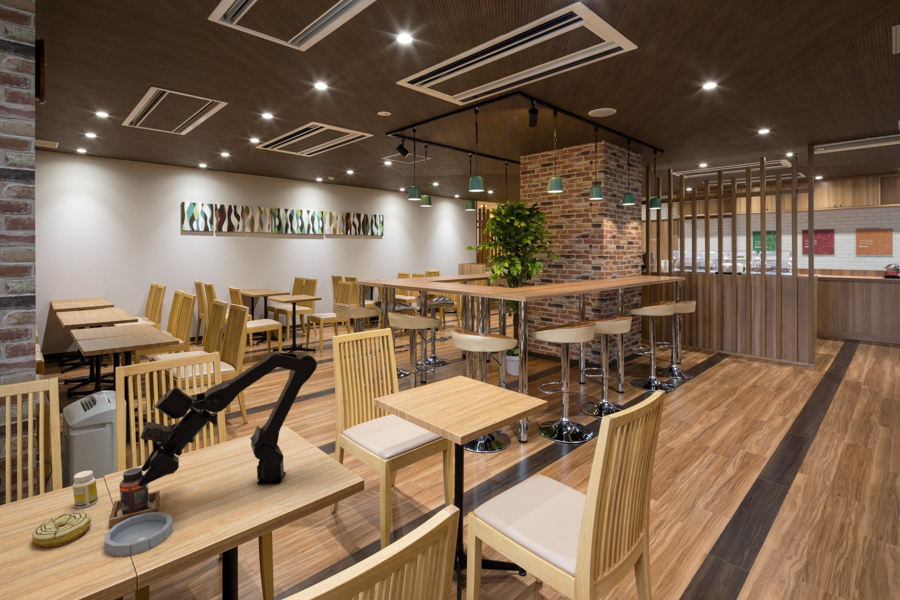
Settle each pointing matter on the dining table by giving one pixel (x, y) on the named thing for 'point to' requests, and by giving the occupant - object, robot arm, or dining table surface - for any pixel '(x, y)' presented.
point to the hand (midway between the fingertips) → (141, 477)
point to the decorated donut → (61, 529)
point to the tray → (117, 505)
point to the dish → (138, 533)
